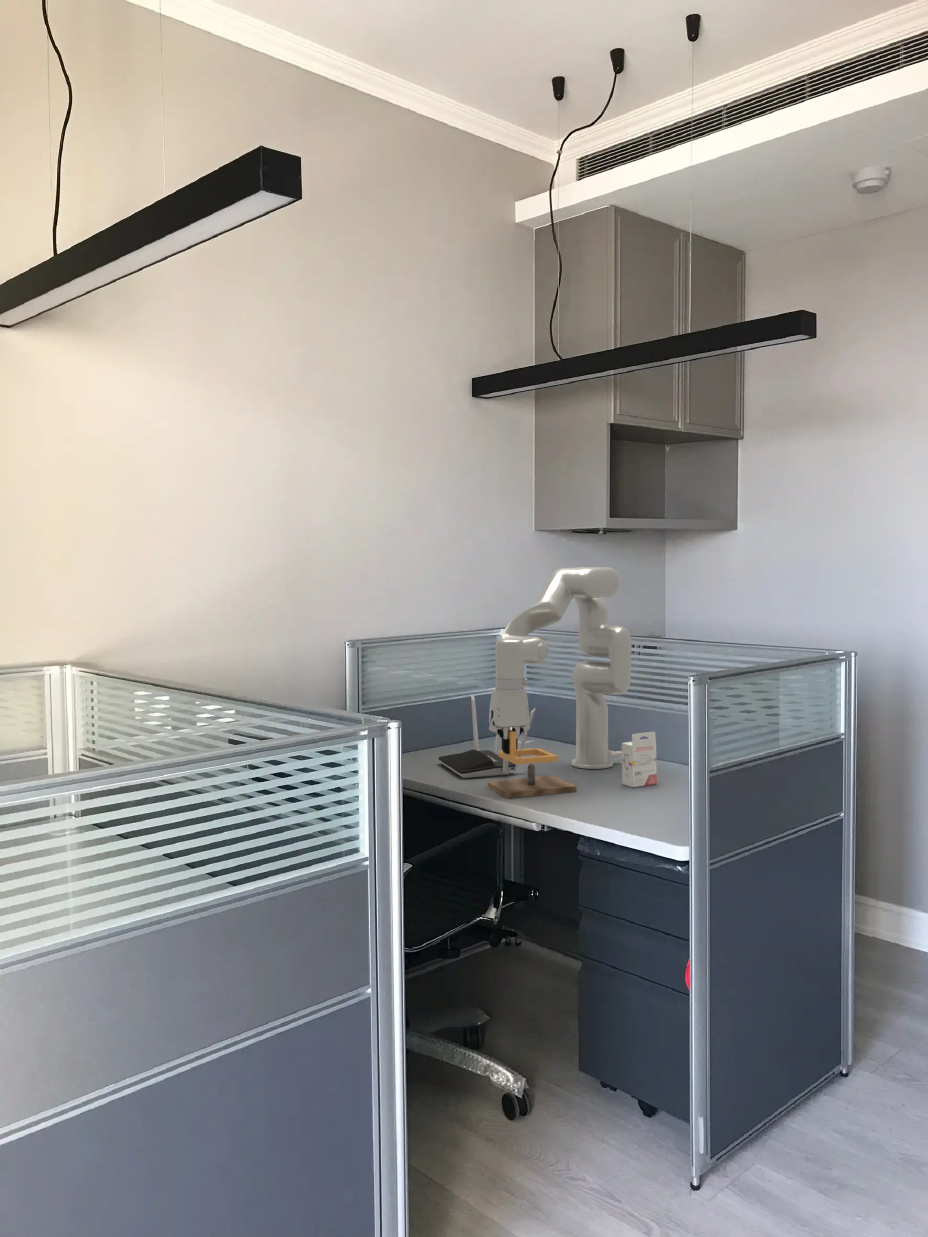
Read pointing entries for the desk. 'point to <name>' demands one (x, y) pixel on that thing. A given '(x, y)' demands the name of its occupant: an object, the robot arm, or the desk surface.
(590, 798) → the desk surface
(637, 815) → the desk surface
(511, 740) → the link
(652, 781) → the ink cartridge box
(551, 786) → the wooden peg board
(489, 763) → the wireless router
